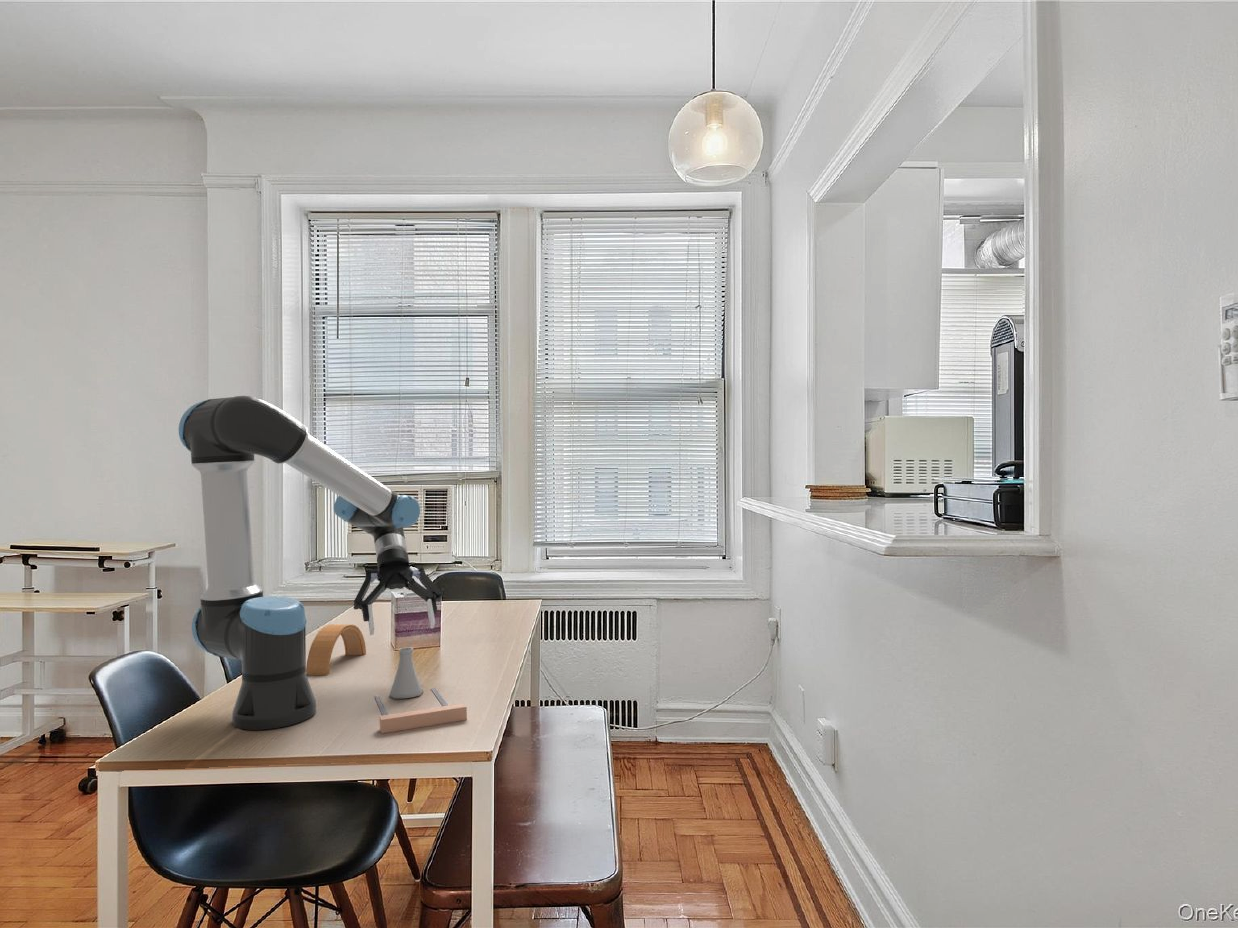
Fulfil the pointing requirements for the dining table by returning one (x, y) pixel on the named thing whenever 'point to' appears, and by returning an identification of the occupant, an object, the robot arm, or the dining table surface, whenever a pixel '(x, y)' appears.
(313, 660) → the arch
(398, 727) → the stop bar lane
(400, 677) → the flask
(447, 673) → the dining table surface
